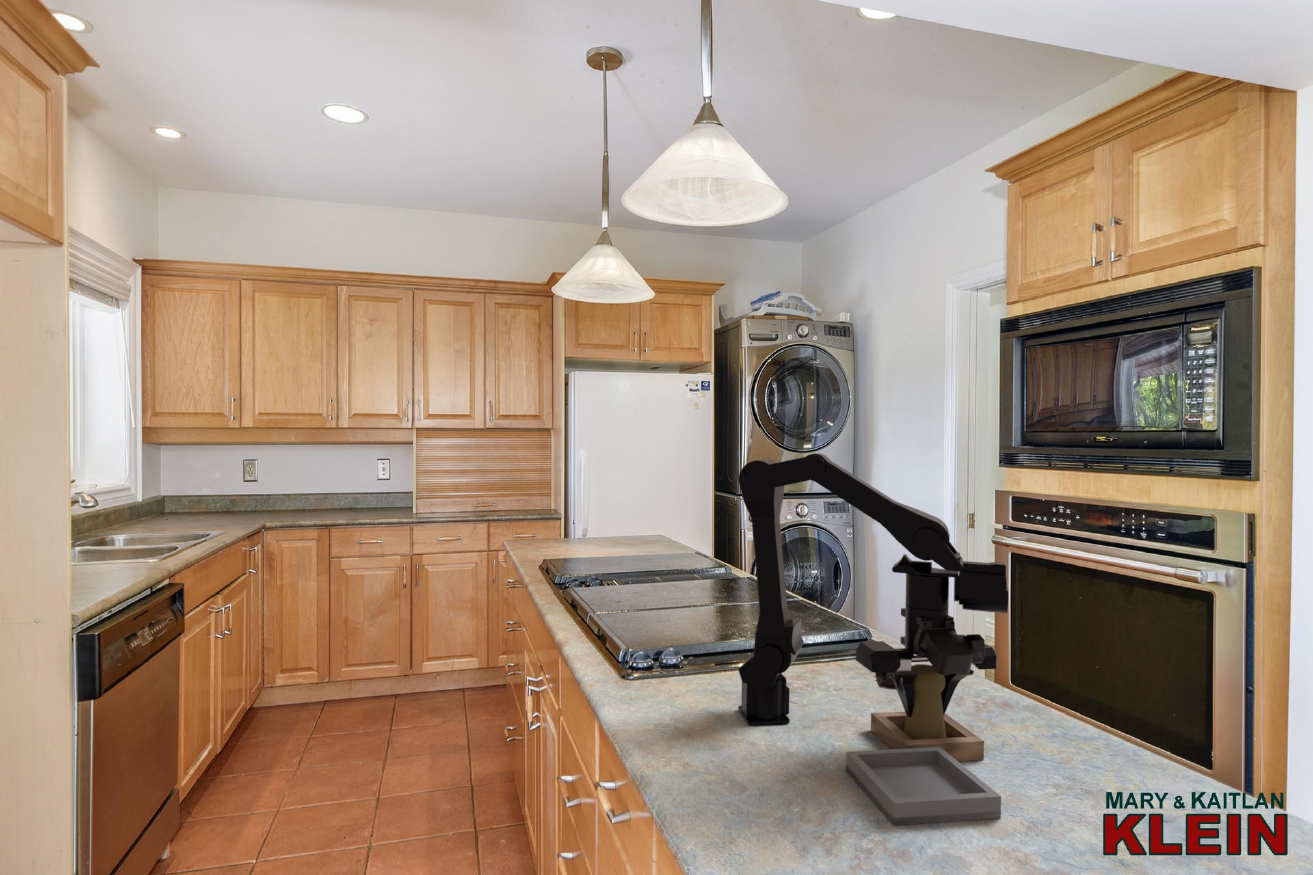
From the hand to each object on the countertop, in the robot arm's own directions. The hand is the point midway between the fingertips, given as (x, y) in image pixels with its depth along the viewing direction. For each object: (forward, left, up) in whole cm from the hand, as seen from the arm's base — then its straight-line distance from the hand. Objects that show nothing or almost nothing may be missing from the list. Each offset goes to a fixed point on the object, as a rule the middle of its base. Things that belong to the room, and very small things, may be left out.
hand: (925, 715), depth 101 cm
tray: (-8, -13, -4) cm, 16 cm away
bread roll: (+10, +24, -5) cm, 27 cm away
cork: (0, 0, -4) cm, 4 cm away
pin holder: (0, 0, -4) cm, 4 cm away
